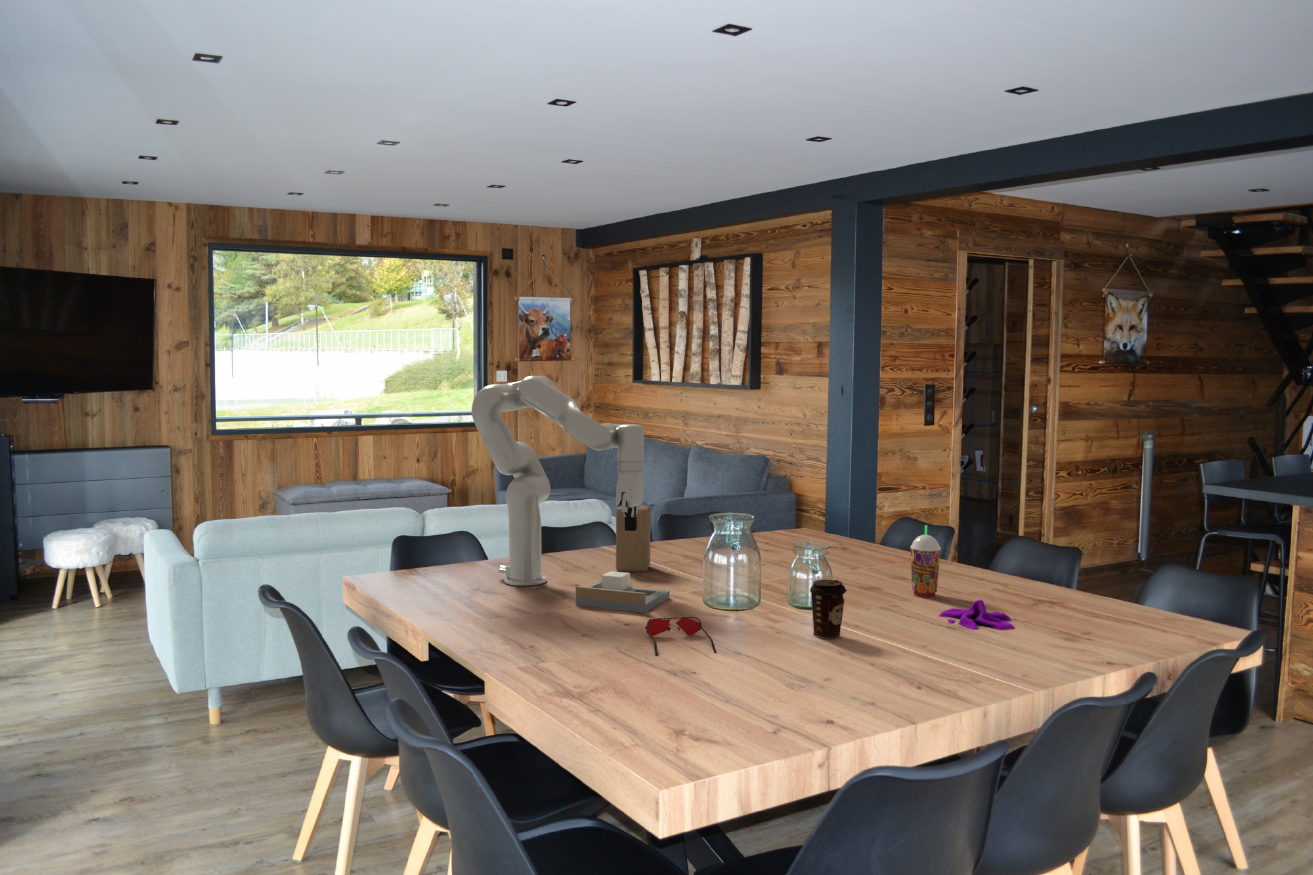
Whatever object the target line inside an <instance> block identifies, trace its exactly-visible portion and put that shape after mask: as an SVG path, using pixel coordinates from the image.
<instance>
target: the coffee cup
mask: <svg viewBox="0 0 1313 875" xmlns="http://www.w3.org/2000/svg"><path fill="white" fill-rule="evenodd" d="M809 591H810V593H811V607H812V609H811V610H812V623H813V624H812V626H813V634H812V635H813V637H816V638H819V639H828V640H829V639H836V638H840V636H841V628H842V623H843V614H844V606H845V598H844V594H846V592H847V589H846V587H845V585H843V582H842V581H840V580H838V579H834V580H833V579H818V580H815V581H813V584H812V586H811V587H810V589H809Z"/></svg>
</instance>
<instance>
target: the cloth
mask: <svg viewBox="0 0 1313 875" xmlns="http://www.w3.org/2000/svg"><path fill="white" fill-rule="evenodd" d="M938 617H941V618H949V619H947V623H948V624H949V625H953V624H955V623H956V622H957V621H956V620H959V622H958V625H959V626H961V627H963V628H966V629H968V630H973V631H977V630H979V628H978V626H979V625H981V626H985V627H988V628H993V629H994V630H998V631H1002V630H1013V629H1016V627H1015V626H1014V625H1013V624H1012V623H1011V622H1012V619H1011V617H1010V615H1007V614H1006V613H1004V612H999V611H993V612H987V609H986V605H985V602H984V600H982V599H977V600H975V601H974V603H973V604H972V605H970V608H968V609H967V608H957V607H955V608H949V609H946V610H944V611H941V612H940V614H938ZM955 619H956V620H955ZM977 625H978V626H977Z"/></svg>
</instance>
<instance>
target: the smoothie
mask: <svg viewBox="0 0 1313 875" xmlns="http://www.w3.org/2000/svg"><path fill="white" fill-rule="evenodd" d="M909 548H910V566H911V567H910V568H911V570H910V572H911V591H913V596H916V597H919V598H933V597H935V595H936V593H937V591H938V584H939V572H940V562H941V550H942V548H941V546H940V543H939V542H938V540H937V539H936V538H935V537H933V536H932V535H929V534H928V524H926V525H925V524H924V534H921V535H918V536H917V537H915V539H914V540H913V542H912V544H911V545H910V547H909Z"/></svg>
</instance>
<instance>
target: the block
mask: <svg viewBox="0 0 1313 875" xmlns="http://www.w3.org/2000/svg"><path fill="white" fill-rule="evenodd" d="M627 506H628V505H627ZM621 508H622V506H621V507H617V509H616V511H615V570H616V572H624V573H631V572H632V573H646V572H647V571H648V570H649V568H650V565H651V507H650V505H648V504H645V505H644V504H640V508H639V509H638V515H637V516H635V517H637V530H635V531H626V530H625V517H624V512H622V511H621Z"/></svg>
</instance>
